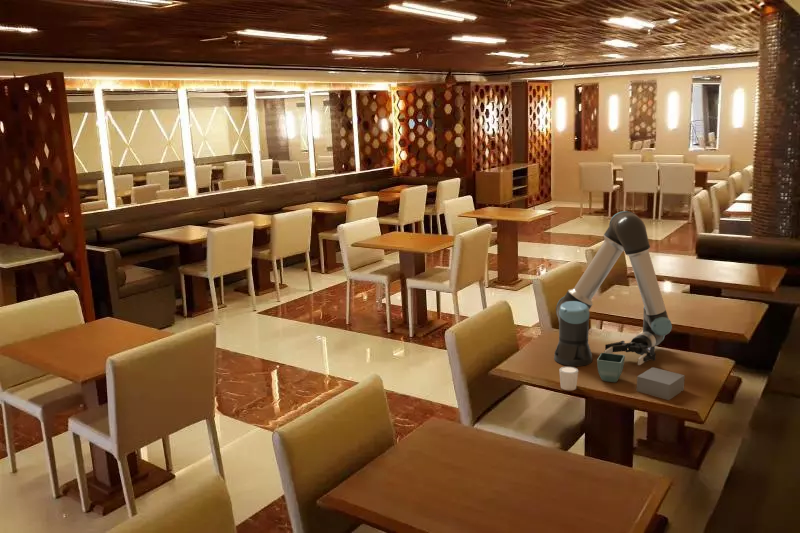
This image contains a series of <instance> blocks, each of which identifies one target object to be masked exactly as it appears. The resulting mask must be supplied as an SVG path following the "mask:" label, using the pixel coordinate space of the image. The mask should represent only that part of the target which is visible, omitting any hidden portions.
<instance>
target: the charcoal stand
mask: <svg viewBox="0 0 800 533" xmlns="http://www.w3.org/2000/svg"><path fill="white" fill-rule="evenodd" d="M684 388H685V375H684V374H681V373H678V372H675V371H674V372H673V371H669V370H665V369H661V368H657V367H653V366H652V367H651V368H649V369H647V370H646V371H644V372H641V373H640V374H638V375H637V376H636V392H639V393H641V394H645V395H650V396H653V397H656V398H659V399H663V400H667V401H671V399H673V398H674V397H676V396H678V395H679V394H681V393H682V392H683V391H684V390H685V389H684ZM681 391H682V392H681Z"/></svg>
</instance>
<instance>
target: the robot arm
mask: <svg viewBox="0 0 800 533" xmlns="http://www.w3.org/2000/svg"><path fill="white" fill-rule="evenodd" d="M603 238H604V239H603V240H604V241H603V242H602V243H601V245H600V247H599V249H598V250H597V251H596V253H595V255H594V257H593V258H592V260H591V261H590V263H589V264H588V266H587V268H586V269H585V270H584V272H583V274H582V275H581V276H580V278H579V280H578V281H577V283H576V284H575V285H574V287H573V288H571V289H570V288H569V289H568V290H567V292H566V293H565V295H564V296H563V297H561V298H560V299H559V300H558V302H557V304H556V307H555V311H556V312H555V313H556V316H557V318H558V319H557V320H558V343H557V345H556V349H555V351H554V355H553V356H554V357H553V359H554V361H555V362H556V363H558V364H559V365H564V366H568V367H581V366H587V365H589V364H591V363H592V362H593V355H592V350H591V348H590V344H589V328H590V324H589V322H590V310H591V308H592V307H593V305H594V304H593V297H594V296H595V295H596V293H597V292H598V291H599V288H600V287H601V285H602V284H603V283H604V281H605V279H606V278H607V277H608V275H609V273H610V272H611V271H612V269H613V267H614V265H615V264H616V263H617V261H618V259H619V258H620V257H621V255H622V254H623V252H624V254H625V256H627V257H628V258H629V262H630V264H631V268H632V271H633V273H634V278H635V281H636V283H637V284H636V285H637V288H638V290H639V293H640V297H641V300H642V304H643V318H642V319H643V324H642V332H641V333H639V334H638V335H636V336H635V337H633V338H632V339H631V341H630V342H625V340H621V341H617V342H611V343H608V344H607V343H606V344H605V345H604V346H605V348H604V349H605V350H604V351H603V353H609V354H614V353H619V352H625V353H635V354H637V355H640V356H639V357H638V358H637V366H641V365H642V364H644V363H646V362H648V361H652V362H655V361H656V358H657V357H656V346H659V345H660V344H661V343H662V342H663V341H664V339H665V336H666V335H669V334H670V332H672V330H673V326H672V321H671V319H669V316H668V312H667V308H666V306H665V302H664V298H663V295H662V292H661V289H660V284H659V282H658V278H657V275H656V272H655V268H654V264H653V262H652V258H651V255H650V252H649V251H650V249H651V245H650V241H649V237H648V232H647V228H646V225H645V223H644V221H643V220H642V219H641V218H640V217H639V216H638V215H637V214H636V213H634V212H632V211H628V210H623V211H619V212H617V213H615V214H614V215H613V216H612V217H611V218H610V221H609V226H608V227H607V229H606V231H605V232H604V233H603Z"/></svg>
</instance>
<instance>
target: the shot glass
mask: <svg viewBox="0 0 800 533" xmlns="http://www.w3.org/2000/svg"><path fill="white" fill-rule="evenodd" d="M558 371H559V382H560V388H561V389H562V390H564V391H574V390H577V383H578V376H579V369H578V368H576V367H575V366H562V367H560V368H559V370H558Z"/></svg>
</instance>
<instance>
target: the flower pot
mask: <svg viewBox="0 0 800 533" xmlns="http://www.w3.org/2000/svg"><path fill="white" fill-rule="evenodd" d="M625 358H626V355H625V354H618V353H617V354H615V353H612V354H609V353H604V352H601V353H600V355H599V356H598V358H597V360H596V363H597V372H598V375H599V376H600V379H601V380H602V381H603V382H609V383H610V382H611V383H617V382H618V380H619V378H620V376H621V374H622V373H623V370H624V366H625V365H624V364H625Z"/></svg>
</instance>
